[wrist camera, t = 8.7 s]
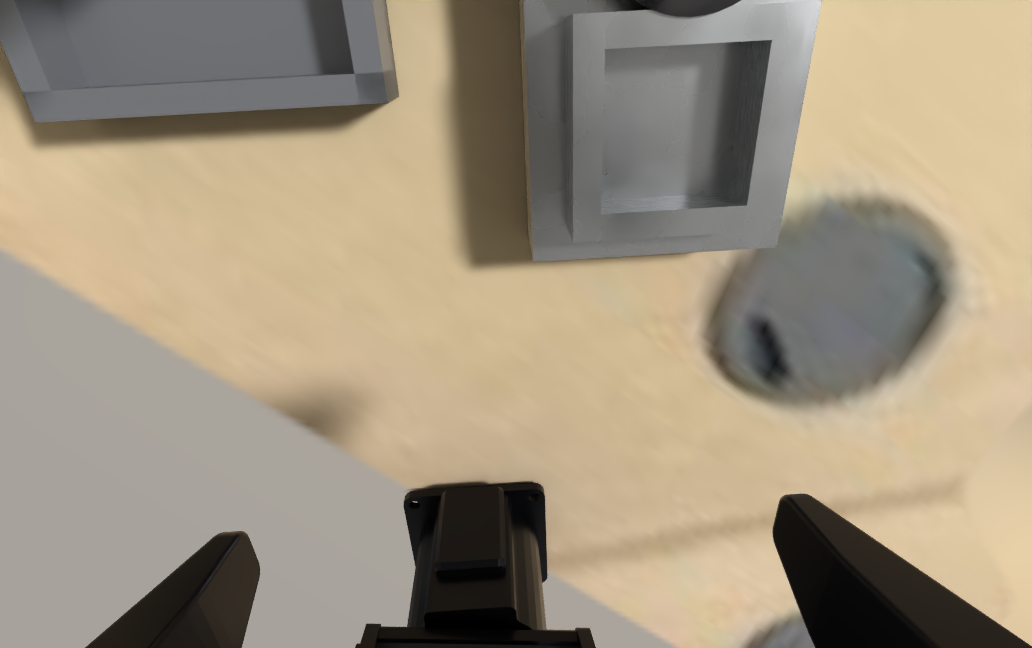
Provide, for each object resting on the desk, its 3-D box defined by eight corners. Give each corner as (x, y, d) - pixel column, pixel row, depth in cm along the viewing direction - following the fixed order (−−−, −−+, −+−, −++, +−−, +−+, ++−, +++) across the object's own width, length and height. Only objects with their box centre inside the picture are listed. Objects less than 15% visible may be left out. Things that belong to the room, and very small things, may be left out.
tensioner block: (744, 224, 20) (812, 272, 16) (528, 237, 20) (538, 289, 16) (810, -213, 14) (941, -318, 10) (511, -198, 14) (519, -299, 10)
